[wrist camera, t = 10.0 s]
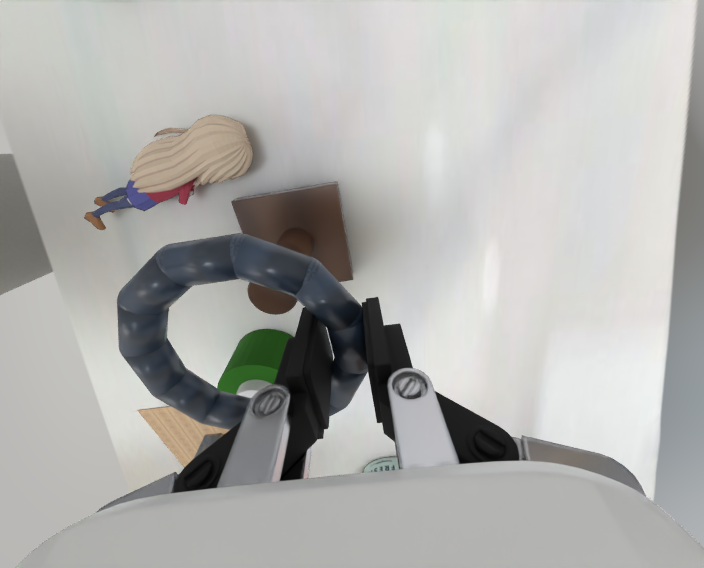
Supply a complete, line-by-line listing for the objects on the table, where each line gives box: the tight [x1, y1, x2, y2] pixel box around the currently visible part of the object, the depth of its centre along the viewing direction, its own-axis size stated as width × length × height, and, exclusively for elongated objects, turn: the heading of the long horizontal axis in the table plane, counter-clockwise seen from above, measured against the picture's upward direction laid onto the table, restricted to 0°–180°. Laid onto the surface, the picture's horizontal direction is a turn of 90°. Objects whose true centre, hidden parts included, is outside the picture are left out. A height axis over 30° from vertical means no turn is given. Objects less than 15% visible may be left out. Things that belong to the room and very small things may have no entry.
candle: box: [217, 329, 294, 398], centre depth 28 cm, size 8×8×10 cm
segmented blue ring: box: [117, 234, 368, 430], centre depth 12 cm, size 10×10×2 cm
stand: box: [232, 182, 353, 314], centre depth 21 cm, size 9×9×10 cm
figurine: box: [84, 115, 253, 230], centre depth 20 cm, size 6×4×15 cm
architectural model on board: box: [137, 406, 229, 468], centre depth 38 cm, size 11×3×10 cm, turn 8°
